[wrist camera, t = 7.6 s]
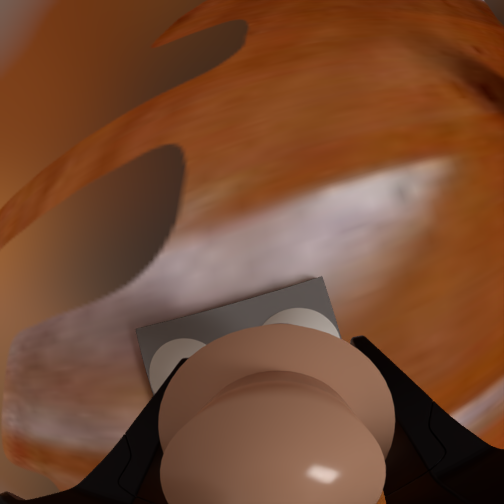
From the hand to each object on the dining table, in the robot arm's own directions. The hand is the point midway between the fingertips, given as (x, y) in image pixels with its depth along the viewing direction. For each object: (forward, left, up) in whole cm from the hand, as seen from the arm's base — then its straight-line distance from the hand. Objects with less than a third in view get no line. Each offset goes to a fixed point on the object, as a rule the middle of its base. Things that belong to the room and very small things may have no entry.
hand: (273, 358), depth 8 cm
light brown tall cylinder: (-1, -1, -6) cm, 7 cm away
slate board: (-4, +1, -13) cm, 14 cm away
